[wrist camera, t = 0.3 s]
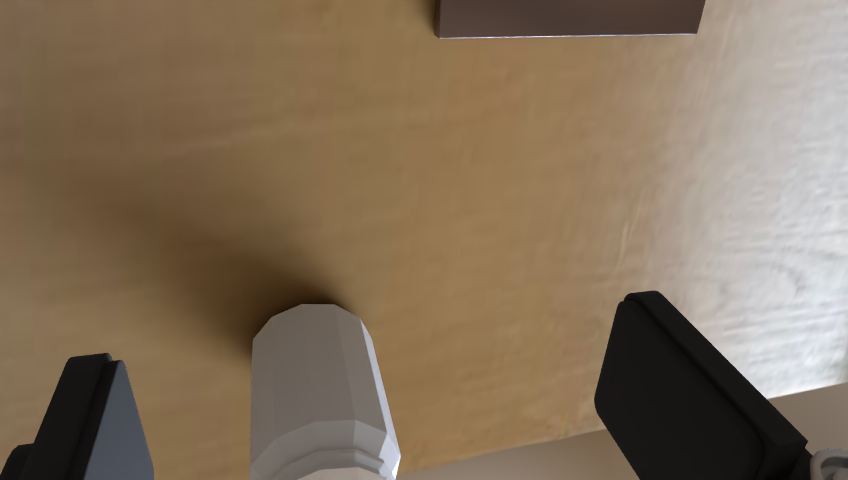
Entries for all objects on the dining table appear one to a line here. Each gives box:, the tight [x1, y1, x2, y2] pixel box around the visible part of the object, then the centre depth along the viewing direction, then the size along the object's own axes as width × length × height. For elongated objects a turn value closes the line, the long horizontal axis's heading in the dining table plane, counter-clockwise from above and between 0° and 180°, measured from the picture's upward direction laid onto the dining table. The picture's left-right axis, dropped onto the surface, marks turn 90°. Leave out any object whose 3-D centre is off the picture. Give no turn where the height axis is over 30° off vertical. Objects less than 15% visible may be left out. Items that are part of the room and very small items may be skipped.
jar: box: [250, 304, 401, 480], centre depth 42 cm, size 10×10×18 cm
